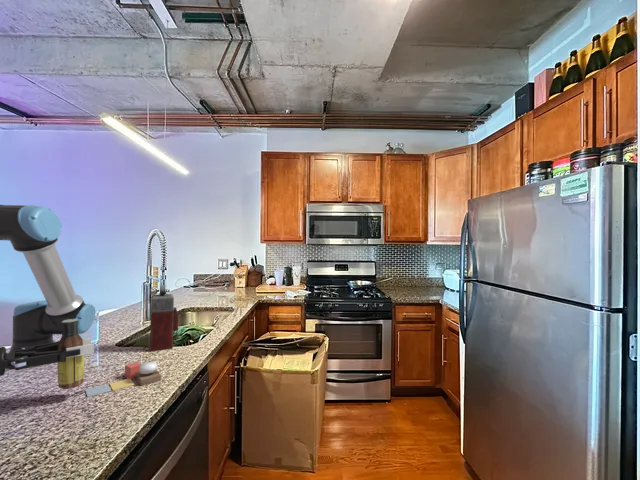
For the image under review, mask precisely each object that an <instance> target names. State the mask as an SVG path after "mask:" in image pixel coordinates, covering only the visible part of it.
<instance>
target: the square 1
mask: <svg viewBox="0 0 640 480" xmlns="http://www.w3.org/2000/svg"><path fill="white" fill-rule="evenodd" d="M84 391H85V394H86V397H87V398H90V397H94V396H98V395H102V394H106V393H109V392H112V388H111V386H110V384H108V383H106V384H102V385H98V386H93V387H90V388H86V389H85V390H84Z"/></svg>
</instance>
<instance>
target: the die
mask: <svg viewBox="0 0 640 480" xmlns="http://www.w3.org/2000/svg"><path fill="white" fill-rule="evenodd" d="M141 364H142V363H140V362H138V361H135V362H132V363H129V364H125V365H124V377H125V378H127V379H131V380H132V379H136V378H135V372H139V371H140V365H141Z"/></svg>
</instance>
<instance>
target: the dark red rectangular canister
mask: <svg viewBox="0 0 640 480" xmlns="http://www.w3.org/2000/svg"><path fill="white" fill-rule="evenodd" d="M166 287H167V286H166V285H161V284H160V285H159V294H152V295H151V296H150V323H149V324H150V331H149V352H151V353H152V352H156V351H157V352H159V351H164V350H165V351H166V350H172V349H173V345H174V344H173V343H174V332H178V331H179V313H178V309H177V307H175V306H174V305H175V297H174V295H173V294H172V293H167V294H166V291H167V290H166Z"/></svg>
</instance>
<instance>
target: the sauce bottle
mask: <svg viewBox="0 0 640 480" xmlns="http://www.w3.org/2000/svg"><path fill="white" fill-rule="evenodd" d="M78 323H79V321H78V319H68V320H64V321H62V322H61V326H62V335H61V338H60V339H59V340H58V341H59V343H58V349H57V351H58V350H66V348H71V347H77V346H83V339H84V338H83V337H82V336H81V334H78ZM56 367H57V383H58V388H59V389H61V390H68V389H73V388H76V387H79V386H81V385H82V384H83V383H84V381H85V379H84V377H85V355H81V356H76V357H70V358H66V361H65V362H57V366H56Z"/></svg>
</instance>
